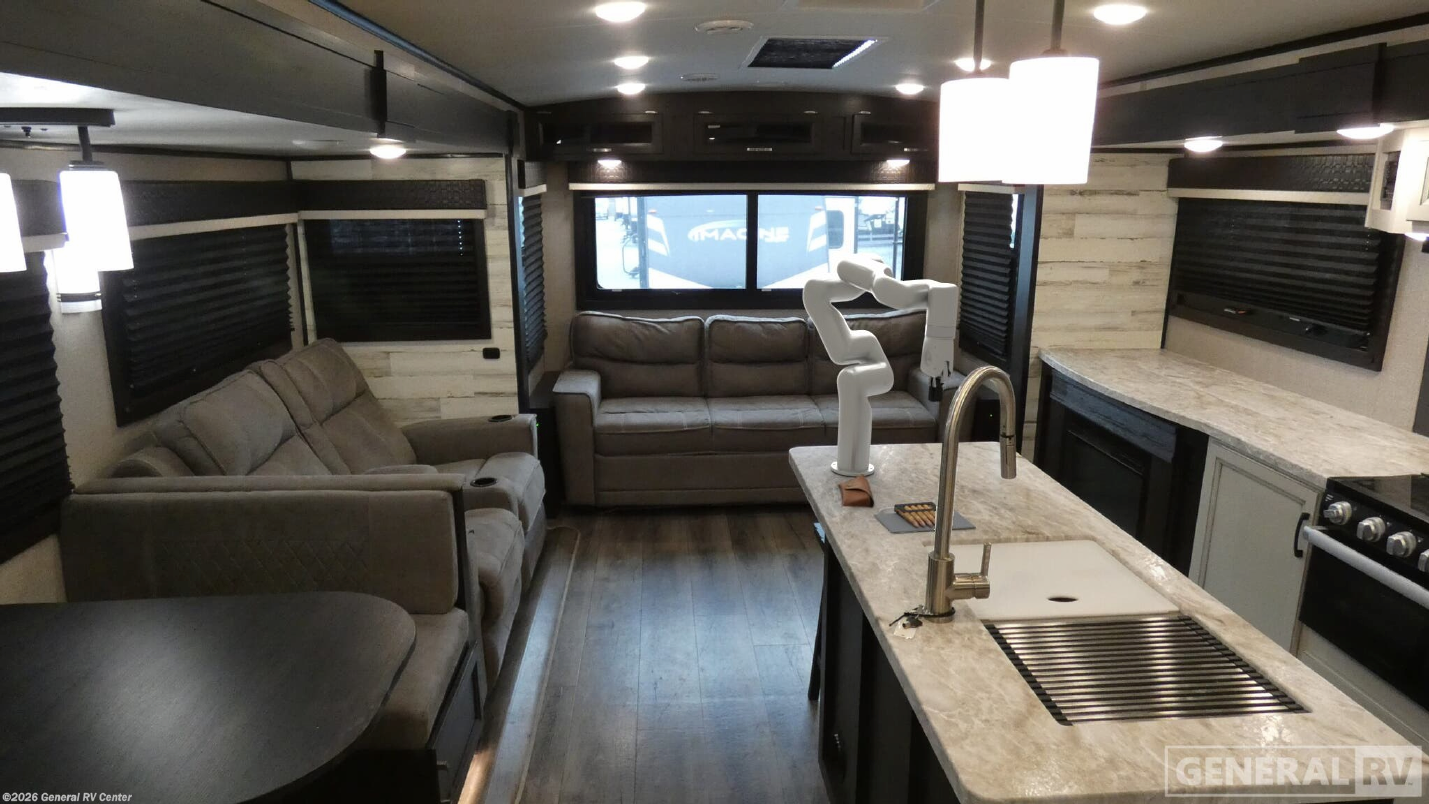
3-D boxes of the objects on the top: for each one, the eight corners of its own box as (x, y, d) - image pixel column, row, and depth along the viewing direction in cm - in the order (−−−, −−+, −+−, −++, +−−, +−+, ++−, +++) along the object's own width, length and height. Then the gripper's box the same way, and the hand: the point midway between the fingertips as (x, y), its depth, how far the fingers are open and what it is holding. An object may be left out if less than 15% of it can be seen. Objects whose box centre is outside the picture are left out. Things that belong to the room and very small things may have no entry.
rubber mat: (873, 515, 228) (873, 514, 228) (954, 511, 232) (954, 509, 232) (891, 533, 217) (891, 532, 217) (975, 528, 221) (975, 526, 221)
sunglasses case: (835, 483, 251) (849, 464, 250) (856, 496, 252) (870, 477, 251) (841, 506, 234) (856, 486, 232) (864, 520, 235) (878, 500, 233)
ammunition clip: (932, 501, 232) (955, 520, 221) (932, 508, 232) (954, 527, 221) (894, 504, 229) (915, 523, 218) (893, 511, 230) (914, 530, 219)
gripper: (914, 327, 237) (910, 394, 241) (939, 337, 222) (933, 408, 227) (941, 327, 238) (936, 394, 242) (967, 336, 224) (961, 407, 228)
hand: (934, 400), depth 235 cm, fingers closed
